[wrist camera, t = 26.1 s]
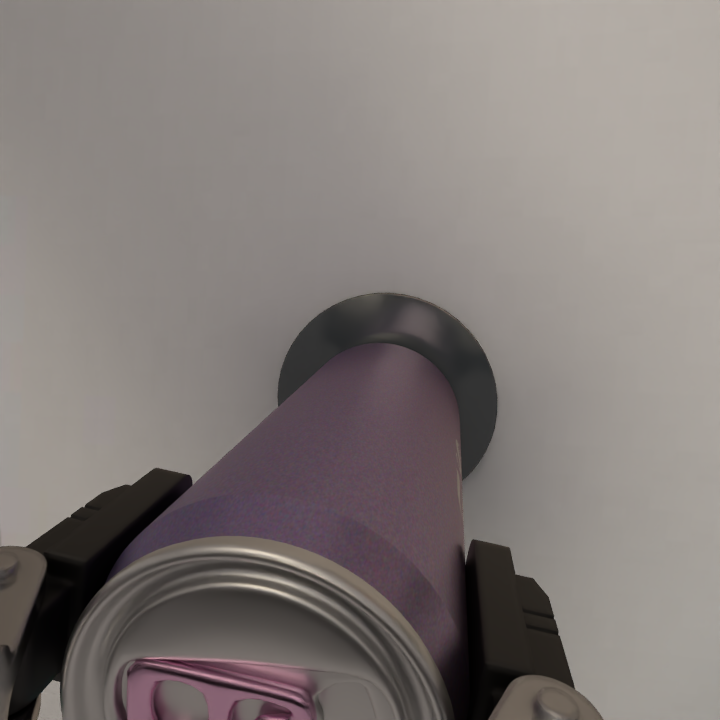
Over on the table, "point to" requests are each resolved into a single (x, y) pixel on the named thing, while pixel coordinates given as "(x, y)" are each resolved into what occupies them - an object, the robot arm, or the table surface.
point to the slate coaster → (410, 330)
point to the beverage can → (298, 568)
